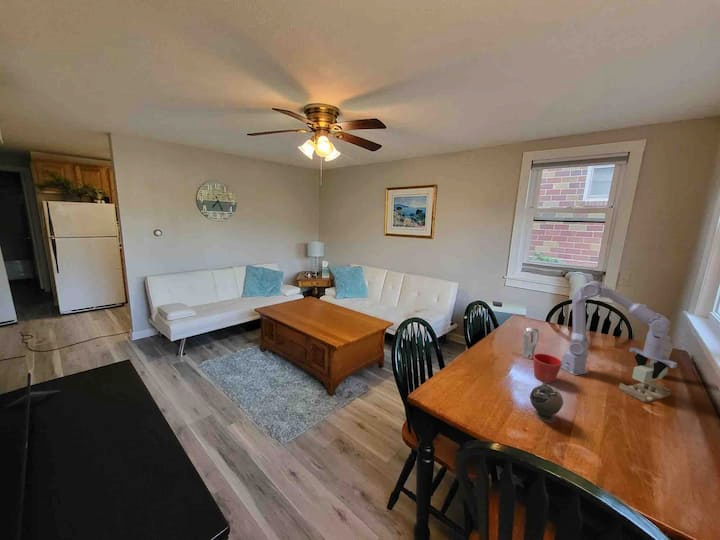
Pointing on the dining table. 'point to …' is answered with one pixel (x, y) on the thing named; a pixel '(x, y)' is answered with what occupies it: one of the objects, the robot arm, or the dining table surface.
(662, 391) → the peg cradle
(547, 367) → the flower pot
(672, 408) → the dining table surface
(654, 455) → the dining table surface
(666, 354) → the plastic bottle
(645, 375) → the pale green block
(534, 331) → the silver pitcher
